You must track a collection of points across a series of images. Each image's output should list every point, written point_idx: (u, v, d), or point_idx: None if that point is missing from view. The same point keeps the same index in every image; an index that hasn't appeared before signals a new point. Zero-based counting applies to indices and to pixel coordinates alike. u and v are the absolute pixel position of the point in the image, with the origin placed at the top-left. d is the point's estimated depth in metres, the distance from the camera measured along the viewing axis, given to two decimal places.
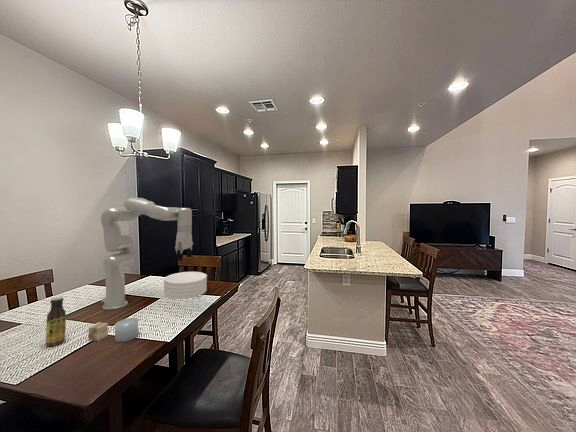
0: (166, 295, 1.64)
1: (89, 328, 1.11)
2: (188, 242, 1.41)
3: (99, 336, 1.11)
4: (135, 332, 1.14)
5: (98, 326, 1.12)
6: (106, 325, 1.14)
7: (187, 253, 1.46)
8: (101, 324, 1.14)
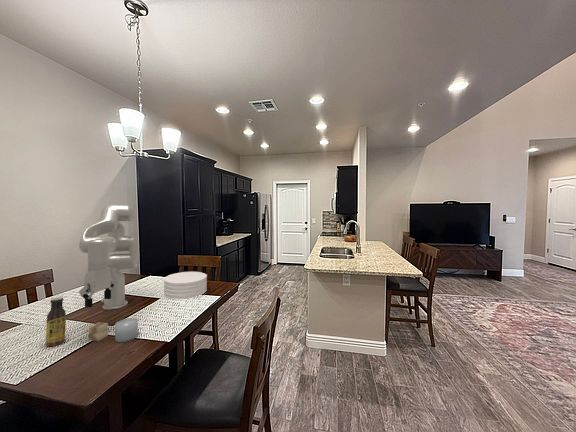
0: (166, 295, 1.64)
1: (89, 328, 1.11)
2: (103, 282, 1.12)
3: (99, 336, 1.11)
4: (135, 332, 1.14)
5: (98, 326, 1.12)
6: (106, 325, 1.14)
7: (105, 294, 1.17)
8: (101, 324, 1.14)
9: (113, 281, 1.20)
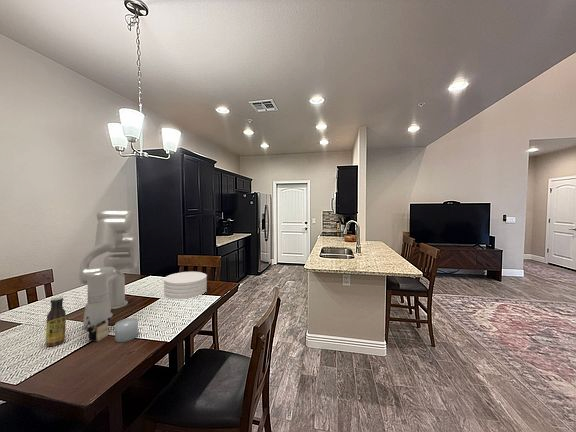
0: (166, 295, 1.64)
1: None
2: (102, 314, 1.12)
3: (99, 336, 1.11)
4: (135, 332, 1.14)
5: (98, 326, 1.12)
6: (106, 325, 1.14)
7: None
8: (101, 324, 1.14)
9: (110, 315, 1.19)
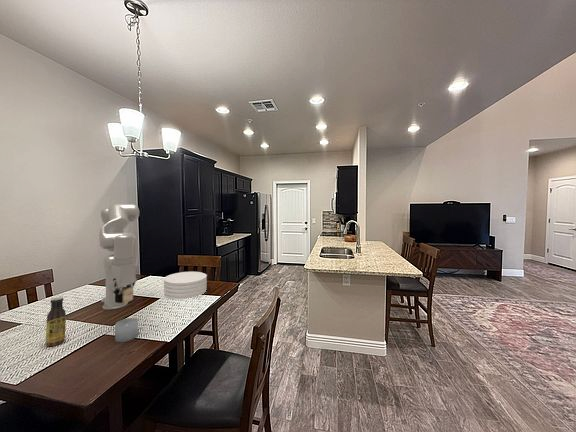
0: (166, 295, 1.64)
1: None
2: (128, 277, 1.13)
3: (125, 298, 1.11)
4: (135, 332, 1.14)
5: (124, 289, 1.12)
6: (131, 289, 1.15)
7: None
8: (126, 287, 1.14)
9: (135, 280, 1.19)
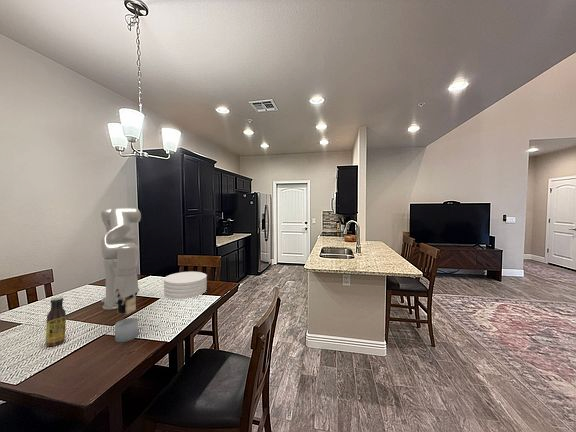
0: (166, 295, 1.64)
1: None
2: (131, 288, 1.13)
3: (128, 309, 1.12)
4: (135, 332, 1.14)
5: (127, 299, 1.13)
6: (134, 299, 1.15)
7: None
8: (129, 298, 1.14)
9: None
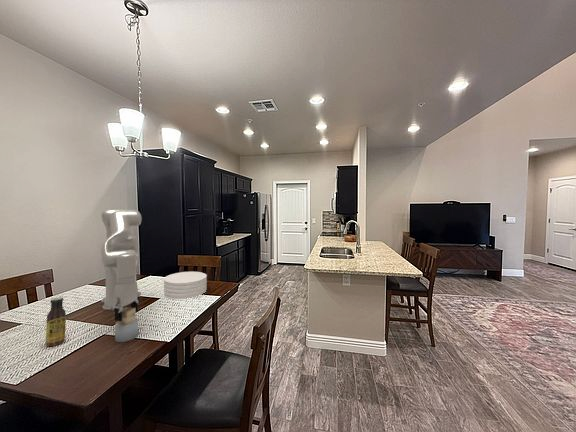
0: (166, 295, 1.64)
1: None
2: (131, 296, 1.13)
3: (128, 320, 1.12)
4: (135, 332, 1.14)
5: (127, 310, 1.13)
6: (134, 310, 1.16)
7: (132, 307, 1.18)
8: (129, 309, 1.15)
9: (139, 294, 1.21)
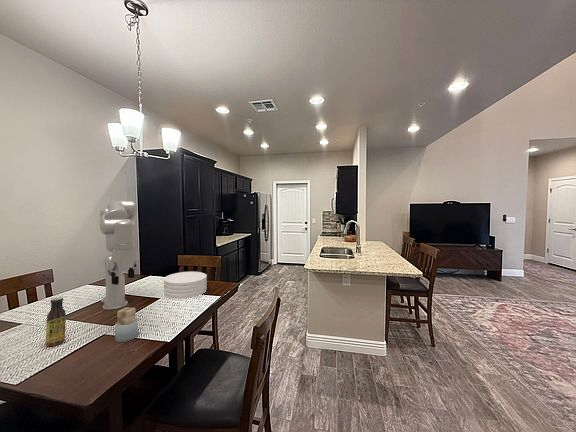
0: (166, 295, 1.64)
1: (118, 312, 1.12)
2: (127, 262, 1.19)
3: (128, 320, 1.12)
4: (135, 332, 1.14)
5: (127, 310, 1.13)
6: (134, 310, 1.16)
7: (129, 273, 1.24)
8: (129, 309, 1.15)
9: (136, 261, 1.27)
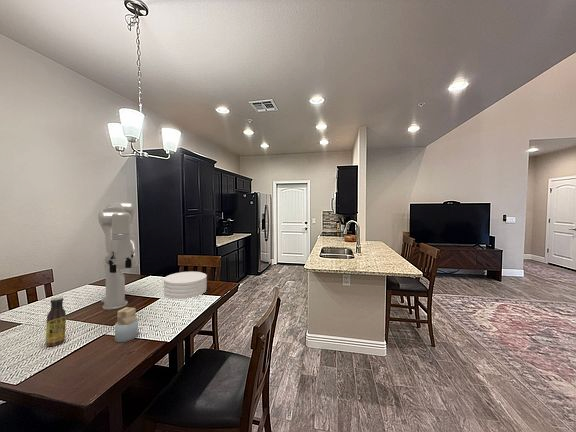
0: (166, 295, 1.64)
1: (118, 312, 1.12)
2: (125, 251, 1.24)
3: (128, 320, 1.12)
4: (135, 332, 1.14)
5: (127, 310, 1.13)
6: (134, 310, 1.16)
7: (126, 263, 1.29)
8: (129, 309, 1.15)
9: (133, 252, 1.32)
